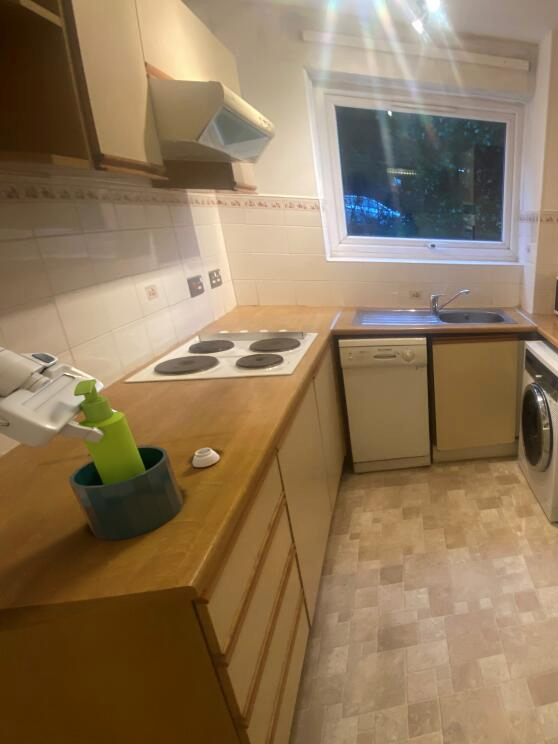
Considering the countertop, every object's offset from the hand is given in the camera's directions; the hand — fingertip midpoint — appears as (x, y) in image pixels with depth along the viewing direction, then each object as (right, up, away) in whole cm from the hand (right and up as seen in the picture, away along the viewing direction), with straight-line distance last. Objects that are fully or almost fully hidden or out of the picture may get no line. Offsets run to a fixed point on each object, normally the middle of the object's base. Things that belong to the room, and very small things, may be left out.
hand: (110, 427), depth 74 cm
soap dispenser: (-1, -11, +4) cm, 11 cm away
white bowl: (0, -10, +23) cm, 26 cm away
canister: (-1, -17, +7) cm, 18 cm away
